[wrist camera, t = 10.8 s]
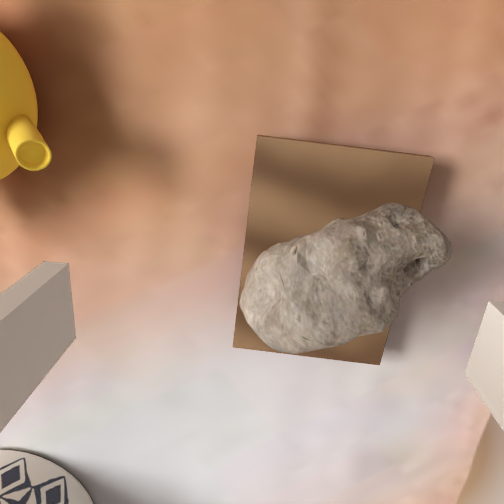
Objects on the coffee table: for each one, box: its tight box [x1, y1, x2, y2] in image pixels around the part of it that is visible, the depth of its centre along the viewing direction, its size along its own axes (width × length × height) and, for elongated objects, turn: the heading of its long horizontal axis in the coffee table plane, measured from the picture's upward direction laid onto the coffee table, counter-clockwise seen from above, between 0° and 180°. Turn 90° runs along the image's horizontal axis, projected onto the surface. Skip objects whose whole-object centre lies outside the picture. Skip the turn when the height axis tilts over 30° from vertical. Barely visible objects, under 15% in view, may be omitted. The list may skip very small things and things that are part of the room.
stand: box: [233, 135, 435, 365], centre depth 34 cm, size 18×13×3 cm
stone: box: [239, 203, 452, 354], centre depth 28 cm, size 9×14×10 cm, turn 109°
